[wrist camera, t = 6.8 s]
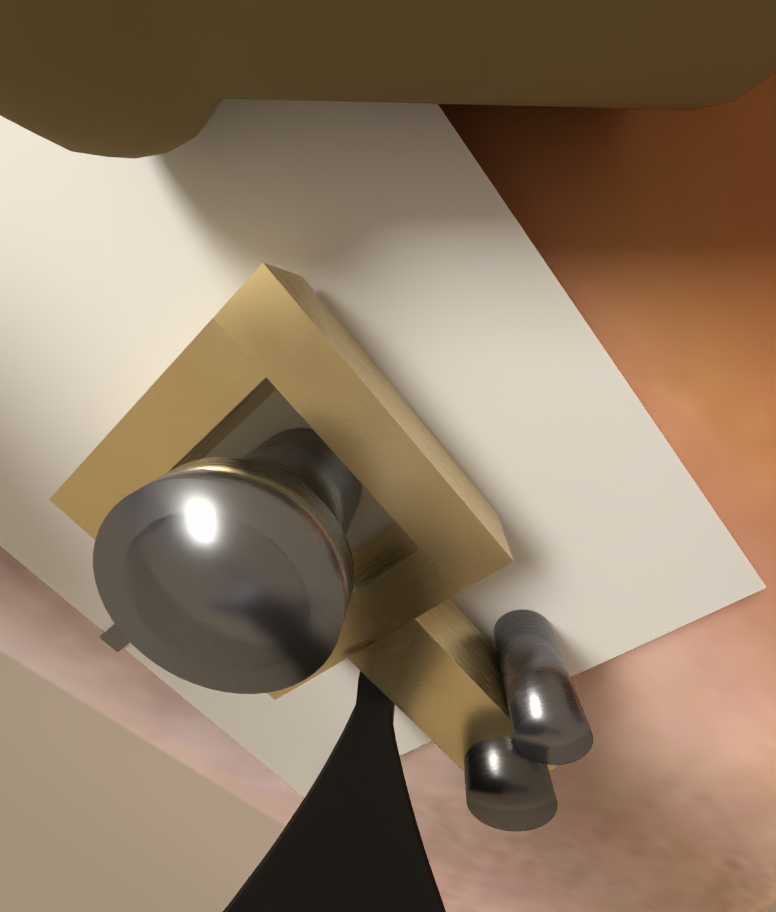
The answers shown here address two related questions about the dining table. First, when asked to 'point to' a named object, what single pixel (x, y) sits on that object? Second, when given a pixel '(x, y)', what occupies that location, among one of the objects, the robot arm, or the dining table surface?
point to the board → (384, 341)
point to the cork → (360, 59)
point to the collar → (376, 562)
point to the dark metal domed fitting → (282, 585)
